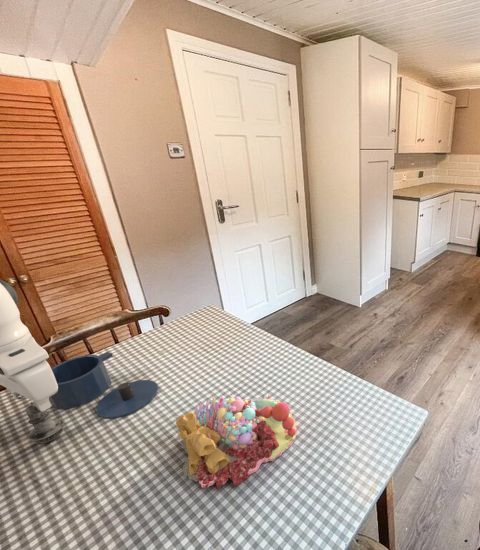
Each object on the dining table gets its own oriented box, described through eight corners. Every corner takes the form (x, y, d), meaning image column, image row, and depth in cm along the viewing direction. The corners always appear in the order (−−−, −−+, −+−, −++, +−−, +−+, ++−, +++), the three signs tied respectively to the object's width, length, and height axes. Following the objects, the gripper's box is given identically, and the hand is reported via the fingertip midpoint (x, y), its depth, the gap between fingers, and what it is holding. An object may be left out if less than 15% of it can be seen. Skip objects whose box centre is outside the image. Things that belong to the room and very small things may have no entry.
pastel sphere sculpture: (208, 516, 57) (198, 483, 53) (164, 443, 71) (154, 413, 67) (312, 430, 74) (309, 401, 71) (260, 385, 88) (255, 359, 85)
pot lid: (85, 411, 80) (78, 396, 78) (138, 378, 92) (132, 364, 90) (119, 427, 75) (112, 411, 73) (169, 390, 87) (165, 375, 85)
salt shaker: (66, 426, 76) (47, 388, 71) (71, 439, 72) (51, 400, 68) (33, 442, 71) (10, 403, 67) (36, 456, 68) (13, 416, 63)
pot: (29, 410, 80) (15, 385, 77) (104, 368, 96) (95, 346, 93) (56, 424, 76) (43, 398, 73) (131, 378, 92) (122, 355, 88)
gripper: (-43, 349, 63) (-11, 400, 68) (8, 372, 56) (39, 427, 61) (0, 333, 69) (26, 381, 74) (51, 352, 62) (76, 404, 67)
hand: (33, 402), depth 68 cm, fingers open, 8 cm apart
